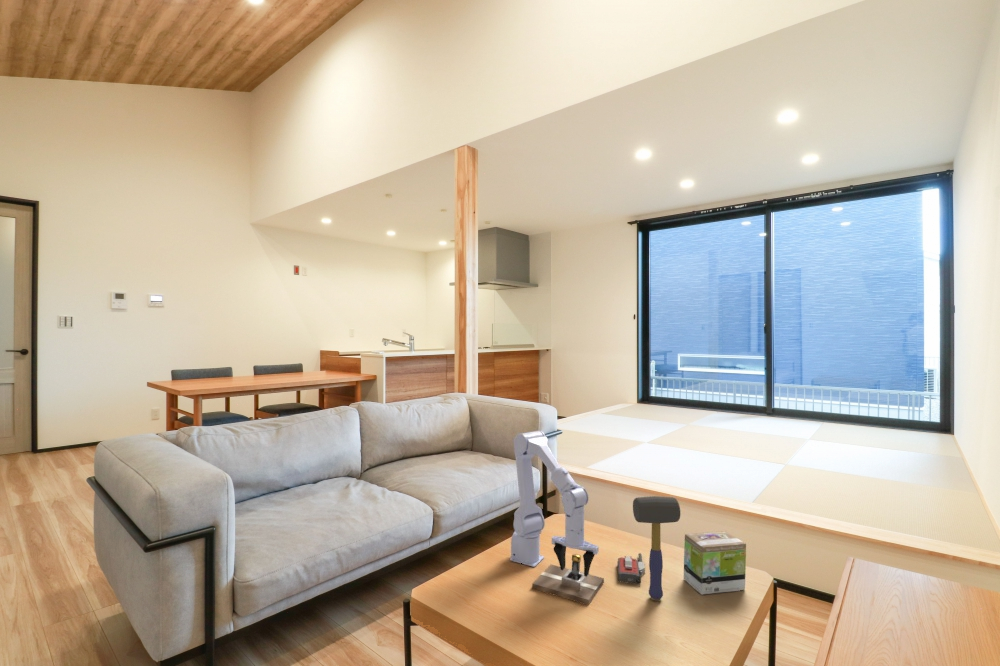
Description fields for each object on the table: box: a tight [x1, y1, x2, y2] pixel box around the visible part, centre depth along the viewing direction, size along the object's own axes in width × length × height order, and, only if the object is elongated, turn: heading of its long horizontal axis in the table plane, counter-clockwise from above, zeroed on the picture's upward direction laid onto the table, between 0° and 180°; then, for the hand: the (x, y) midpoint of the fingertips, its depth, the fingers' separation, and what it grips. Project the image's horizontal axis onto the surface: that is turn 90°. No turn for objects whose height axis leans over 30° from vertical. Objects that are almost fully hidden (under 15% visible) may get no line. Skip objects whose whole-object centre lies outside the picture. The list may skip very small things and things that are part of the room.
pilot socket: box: [562, 569, 587, 590], centre depth 149 cm, size 6×6×2 cm
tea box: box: [683, 530, 747, 596], centre depth 151 cm, size 15×10×15 cm, turn 102°
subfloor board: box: [531, 564, 605, 606], centre depth 150 cm, size 18×14×2 cm
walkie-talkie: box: [617, 552, 646, 585], centre depth 161 cm, size 9×4×20 cm
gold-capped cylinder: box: [571, 553, 582, 581], centre depth 150 cm, size 3×3×8 cm
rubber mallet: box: [632, 495, 681, 602], centre depth 143 cm, size 12×8×30 cm, turn 91°
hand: (574, 571), depth 149 cm, fingers open, 7 cm apart
